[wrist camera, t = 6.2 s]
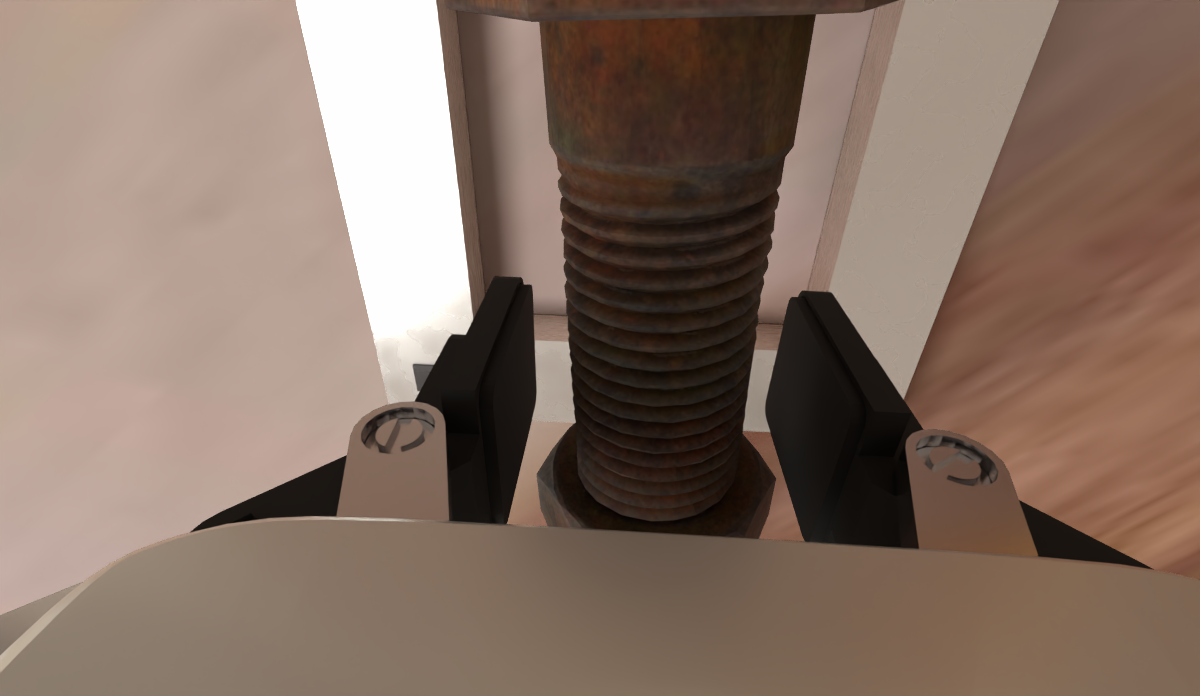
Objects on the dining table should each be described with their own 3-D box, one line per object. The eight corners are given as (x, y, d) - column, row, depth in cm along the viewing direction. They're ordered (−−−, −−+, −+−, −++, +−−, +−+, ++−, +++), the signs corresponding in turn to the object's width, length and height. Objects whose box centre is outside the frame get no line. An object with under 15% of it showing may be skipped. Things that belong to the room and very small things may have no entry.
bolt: (622, 498, 18) (621, -117, 9) (781, 573, 15) (968, -156, 7) (500, 658, 14) (304, -171, 5) (689, 791, 11) (872, -302, 3)
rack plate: (871, 407, 31) (889, 438, 29) (407, 386, 32) (390, 415, 30) (1109, -263, 17) (1178, -300, 15) (273, -271, 18) (223, -306, 16)
